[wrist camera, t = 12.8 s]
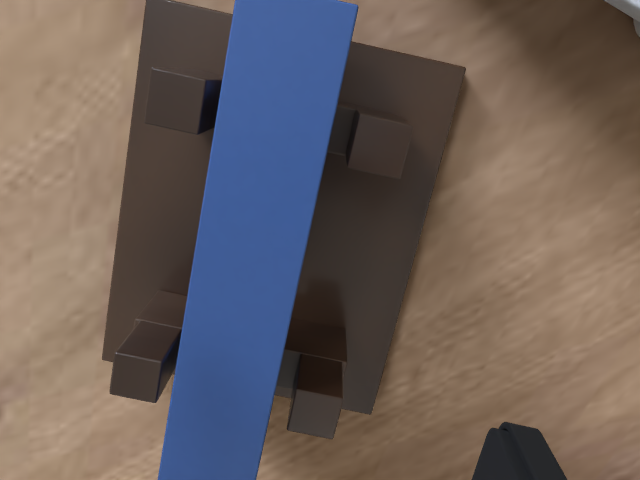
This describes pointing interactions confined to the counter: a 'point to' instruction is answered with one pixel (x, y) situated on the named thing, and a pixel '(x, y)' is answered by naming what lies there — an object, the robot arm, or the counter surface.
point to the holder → (327, 224)
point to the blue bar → (253, 230)
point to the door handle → (629, 10)
